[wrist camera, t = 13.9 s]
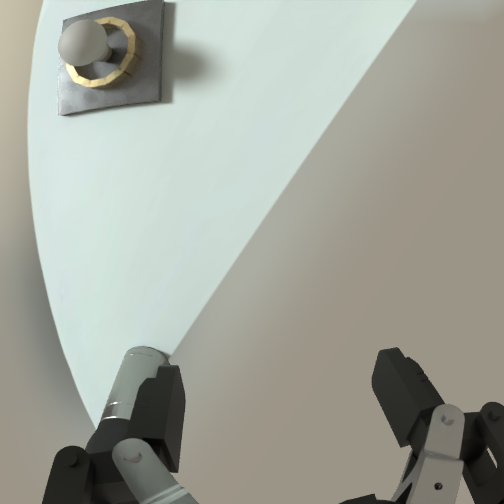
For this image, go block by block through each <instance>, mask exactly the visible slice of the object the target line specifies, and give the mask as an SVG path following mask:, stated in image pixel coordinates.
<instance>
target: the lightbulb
mask: <svg viewBox="0 0 504 504" xmlns="http://www.w3.org/2000/svg"><path fill="white" fill-rule="evenodd" d="M58 51H59V54H60V57H61V58H62V60H63V61H65V62H66V63H67V64H69V65H72V66H84V65H87V64H90V63H91V62H93V61H99V62H105V61H107V60H108V59H109V58H110V57H111V55H112V49H111V48H110V47H109V46H108V44H107V35H106V32H105V29H104V27H103V26H102V25H101V24H99V23H98V22H97V21H94V20H80V21H77V22H75V23H73V24H71V25H70V26H69V27H68V28H67V29H66V30H65V31H64V32H63V34H62V35H61V37H60V40H59V44H58Z"/></svg>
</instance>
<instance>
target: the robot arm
mask: <svg viewBox="0 0 504 504" xmlns="http://www.w3.org/2000/svg"><path fill="white" fill-rule="evenodd" d="M372 388H373V391H374V393H375V395H376V397H377V399H378V401H379V403H380V405H381V407H382V409H383V411H384V414H385V416H386V418H387V420H388V422H389V424H390V426H391V428H392V430H393V432H394V435H395V437H396V439H397V441H398V443H399V445H400V447H405V446H408V445H410V446H411V448H412V450H411V452H410V454H409V457H408V460H407V463H406V466H405V469H404V472H403V475H402V477H401V480H400V483H399V485H398V488H397V490H396V492H395V493H394V495H393V497H392V498H391V500H390V501H387V500H376V497H375V494H370V495H367V496H363V497H359V498H355V499H350V500H346V501H344V502H342V503H340V504H455V501H456V497H457V493H458V489H459V485H460V480H461V475H462V474H463V477H464V480H465V482H466V484H467V486H468V489H469V491H470V493H471V496H472V498H473V500H474V503H475V504H504V406H503V405H501V404H500V403H497V402H488V403H486V404H485V405H484V406H483V407H482V409H481V410H480V412H471V413H463V412H462V411H461V410H460V409H459V408H458V407H456V406H454V405H451V404H445V403H444V401H443V400H442V398H441V396H440V395H439V393H438V392H437V390H436V389H435V387H434V386H433V385H432V383H431V382H430V380H428V377H427V376H426V374H424V371H423V370H422V368H421V367H420V366H419V364H418V363H416V362H415V361H414V360H412V359H411V358H410V357H407V358H405V357H404V355H403V354H402V352H401V351H400V349H399V348H397V347H396V348H391V349H384V350H380V351H379V353H378V356H377V360H376V364H375V368H374V372H373V375H372ZM184 413H185V391H184V387H183V383H182V379H181V374H180V369H179V366H178V365H170V364H169V361H168V360H167V358H166V357H165V356H164V355H163V354H162V353H160V352H158V351H157V350H155V349H152V348H149V347H135V348H132V349H130V350H129V351H128V352H127V353H126V354H125V356H124V359H123V361H122V364H121V366H120V369H119V371H118V374H117V376H116V379H115V382H114V384H113V387H112V390H111V392H110V395H109V398H108V400H107V403H106V406H105V408H104V412H103V414H102V417H101V420H100V423H99V425H98V428H97V430H96V431H95V433H94V434H93V435H92V437H91V438H90V440H89V442H88V443H87V446H86V448H85V450H84V449H83V448H81V447H78V446H68V447H65V448H63V449H61V450H60V451H59V452H58V453H57V454H56V456H55V459H54V462H53V465H52V468H51V472H50V475H49V479H48V482H47V486H46V490H45V494H44V498H43V501H42V504H199V503H198V502H197V501H196V500H195V499H194V498H193V497H192V496H191V494H190V493H189V492H188V491H187V490H186V489H185V488H184V487H181V486H180V485H179V483H178V482H177V481H176V480H175V479H174V477H173V476H172V475H171V474H170V472H173V473H178V469H179V459H180V449H181V440H182V430H183V421H184ZM487 448H489V449H490V450H491V452H492V454H493V456H494V458H495V460H496V462H497V468H496V466H495V464H494V462H493V460H492V459H491V457H490V455H489V453H488V451H487Z"/></svg>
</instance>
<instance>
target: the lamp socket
mask: <svg viewBox="0 0 504 504" xmlns="http://www.w3.org/2000/svg"><path fill="white" fill-rule="evenodd" d="M164 3H165V2H164V0H147V1H141V2H135V3H129V4H124V5H119V6H115V7H110V8H106V9H102V10H98V11H94V12H90V13H86V14H82V15H79V16H75V17H72V18H69V19H66V20H63V27H62V34H63V32H64V31H65V30H66V29H67V28H68V27H69V26H70V25H71V24H73V23H75V22H77V21H80V20H94V21H97V22H98V23H99V24H101V25H102V26H103V27H104V29H105V32H106V35H107V44H108V46H109V47H110V48H111V49H112V55H111V57H110V58H109V59H108V60H107V61H105V62H99V61H93V62H91V63H90V64H87V65H84V66H72V65H69V64H67V63H66V62H65V61H63V60H62V58H61V57H60V58H59V74H58V116H63V115H68V114H73V113H78V112H84V111H89V110H95V109H101V108H107V107H114V106H121V105H128V104H136V103H145V102H155V101H161V60H162V35H163V17H164Z"/></svg>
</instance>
